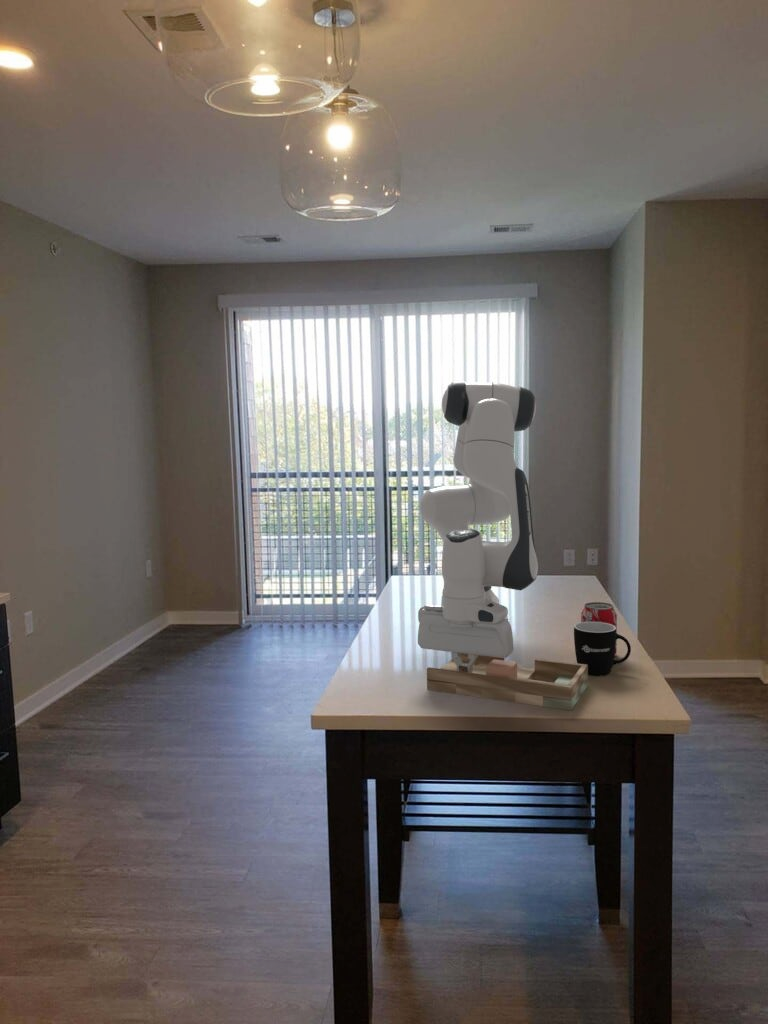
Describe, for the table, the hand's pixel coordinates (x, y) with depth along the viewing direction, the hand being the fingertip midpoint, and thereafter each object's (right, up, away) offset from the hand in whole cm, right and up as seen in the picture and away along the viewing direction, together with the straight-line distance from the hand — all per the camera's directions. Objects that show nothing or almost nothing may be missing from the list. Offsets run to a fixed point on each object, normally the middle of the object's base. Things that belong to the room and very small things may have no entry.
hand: (464, 673), depth 157 cm
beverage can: (+34, 0, +20) cm, 39 cm away
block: (+7, -1, -4) cm, 8 cm away
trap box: (+9, -3, 0) cm, 9 cm away
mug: (+31, -2, +8) cm, 32 cm away
